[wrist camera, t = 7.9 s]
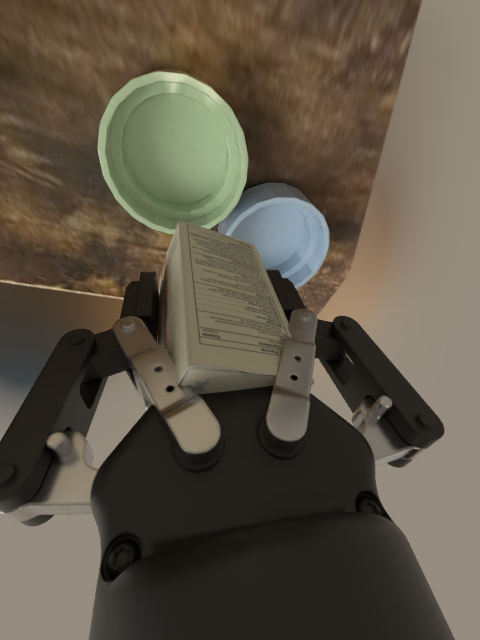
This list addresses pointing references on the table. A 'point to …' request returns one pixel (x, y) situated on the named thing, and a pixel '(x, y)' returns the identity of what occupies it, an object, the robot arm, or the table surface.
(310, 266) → the bowl right
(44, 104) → the table surface
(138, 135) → the bowl left
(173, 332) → the skincare product carton
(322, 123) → the table surface
